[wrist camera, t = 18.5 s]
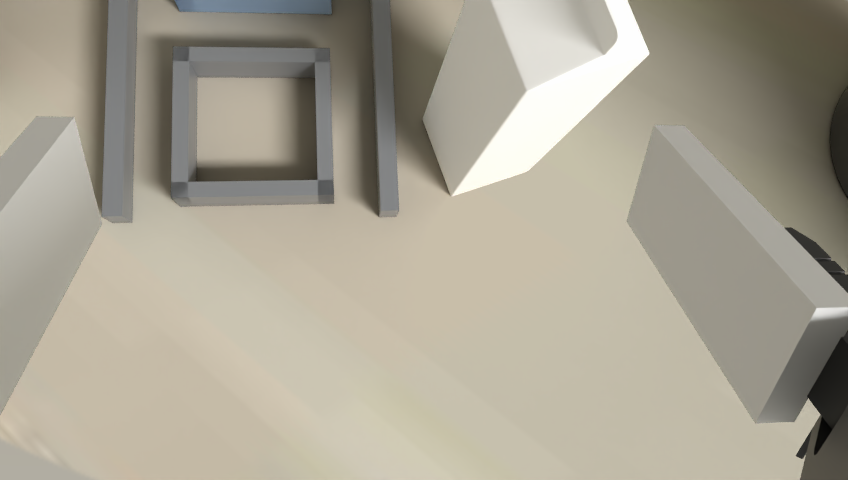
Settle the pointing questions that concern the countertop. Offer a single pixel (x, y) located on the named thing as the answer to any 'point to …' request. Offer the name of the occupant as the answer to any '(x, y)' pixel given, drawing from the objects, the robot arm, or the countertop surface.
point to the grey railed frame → (238, 64)
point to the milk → (524, 82)
